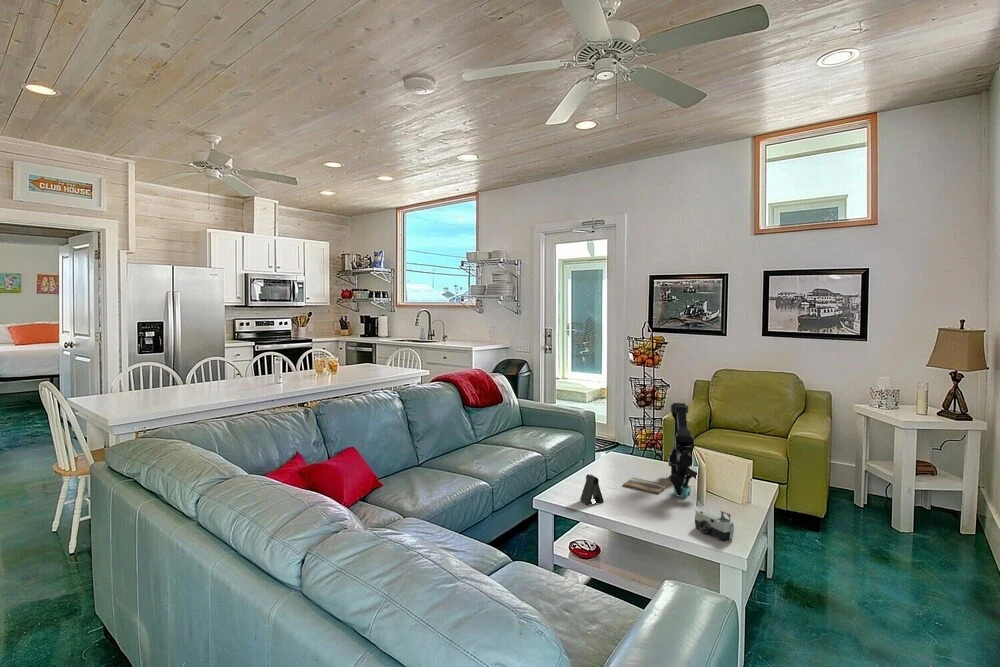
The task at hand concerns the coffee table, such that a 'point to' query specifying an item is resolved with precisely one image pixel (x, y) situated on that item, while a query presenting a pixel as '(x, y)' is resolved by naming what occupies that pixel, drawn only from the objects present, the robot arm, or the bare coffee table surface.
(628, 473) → the coffee table surface
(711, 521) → the camera
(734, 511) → the coffee table surface
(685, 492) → the block
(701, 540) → the coffee table surface
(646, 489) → the rail plate
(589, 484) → the phone stand
